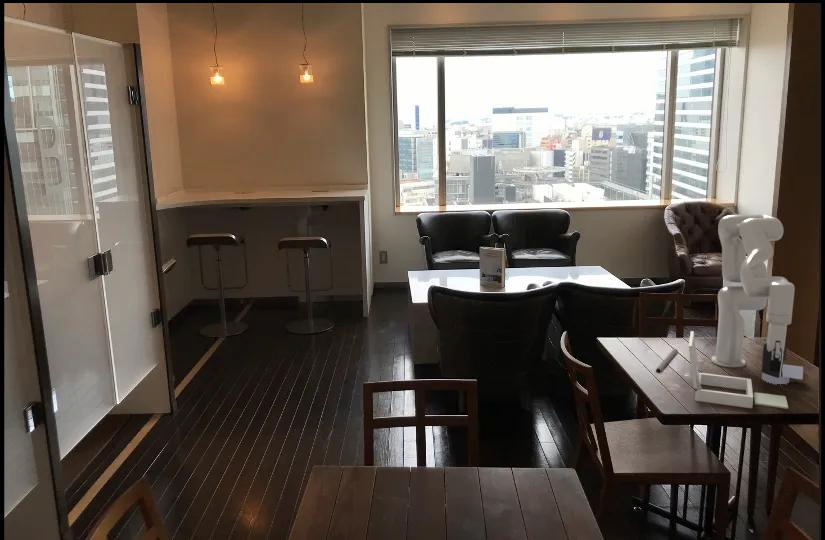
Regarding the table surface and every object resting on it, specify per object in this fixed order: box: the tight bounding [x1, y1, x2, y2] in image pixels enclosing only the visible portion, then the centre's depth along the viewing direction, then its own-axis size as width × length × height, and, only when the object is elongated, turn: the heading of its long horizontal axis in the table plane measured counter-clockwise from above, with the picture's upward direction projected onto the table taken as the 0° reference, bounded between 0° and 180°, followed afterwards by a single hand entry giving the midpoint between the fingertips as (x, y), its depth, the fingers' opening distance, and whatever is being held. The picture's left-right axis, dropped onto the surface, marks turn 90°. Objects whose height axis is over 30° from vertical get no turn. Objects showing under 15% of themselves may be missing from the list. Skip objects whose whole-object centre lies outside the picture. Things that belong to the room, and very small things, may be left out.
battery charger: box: [761, 342, 788, 378], centre depth 229 cm, size 7×4×11 cm, turn 25°
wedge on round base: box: [761, 363, 804, 386], centre depth 249 cm, size 9×7×13 cm
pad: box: [753, 391, 789, 409], centre depth 232 cm, size 10×10×1 cm
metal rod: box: [655, 348, 678, 373], centre depth 272 cm, size 2×27×2 cm, turn 146°
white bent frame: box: [688, 330, 754, 409], centre depth 237 cm, size 18×21×20 cm
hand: (773, 367), depth 230 cm, fingers closed on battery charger, 6 cm apart
